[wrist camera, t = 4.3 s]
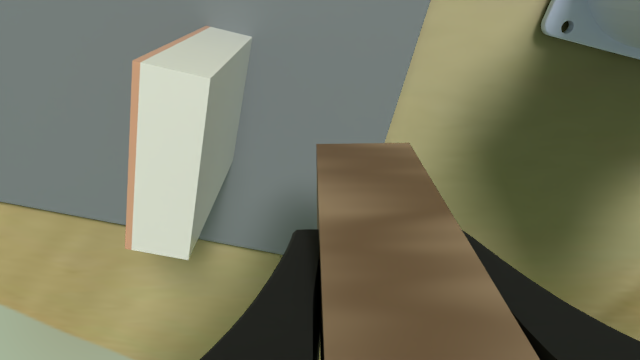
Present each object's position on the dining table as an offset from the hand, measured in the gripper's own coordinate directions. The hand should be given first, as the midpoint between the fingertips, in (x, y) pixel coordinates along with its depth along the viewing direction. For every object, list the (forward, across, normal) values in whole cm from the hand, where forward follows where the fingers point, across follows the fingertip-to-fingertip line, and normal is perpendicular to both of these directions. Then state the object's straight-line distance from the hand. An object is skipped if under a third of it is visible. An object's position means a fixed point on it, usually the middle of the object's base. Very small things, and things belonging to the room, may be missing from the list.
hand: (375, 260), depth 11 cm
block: (+4, 0, 0) cm, 4 cm away
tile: (+10, +6, -2) cm, 12 cm away
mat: (+10, +9, -2) cm, 14 cm away
